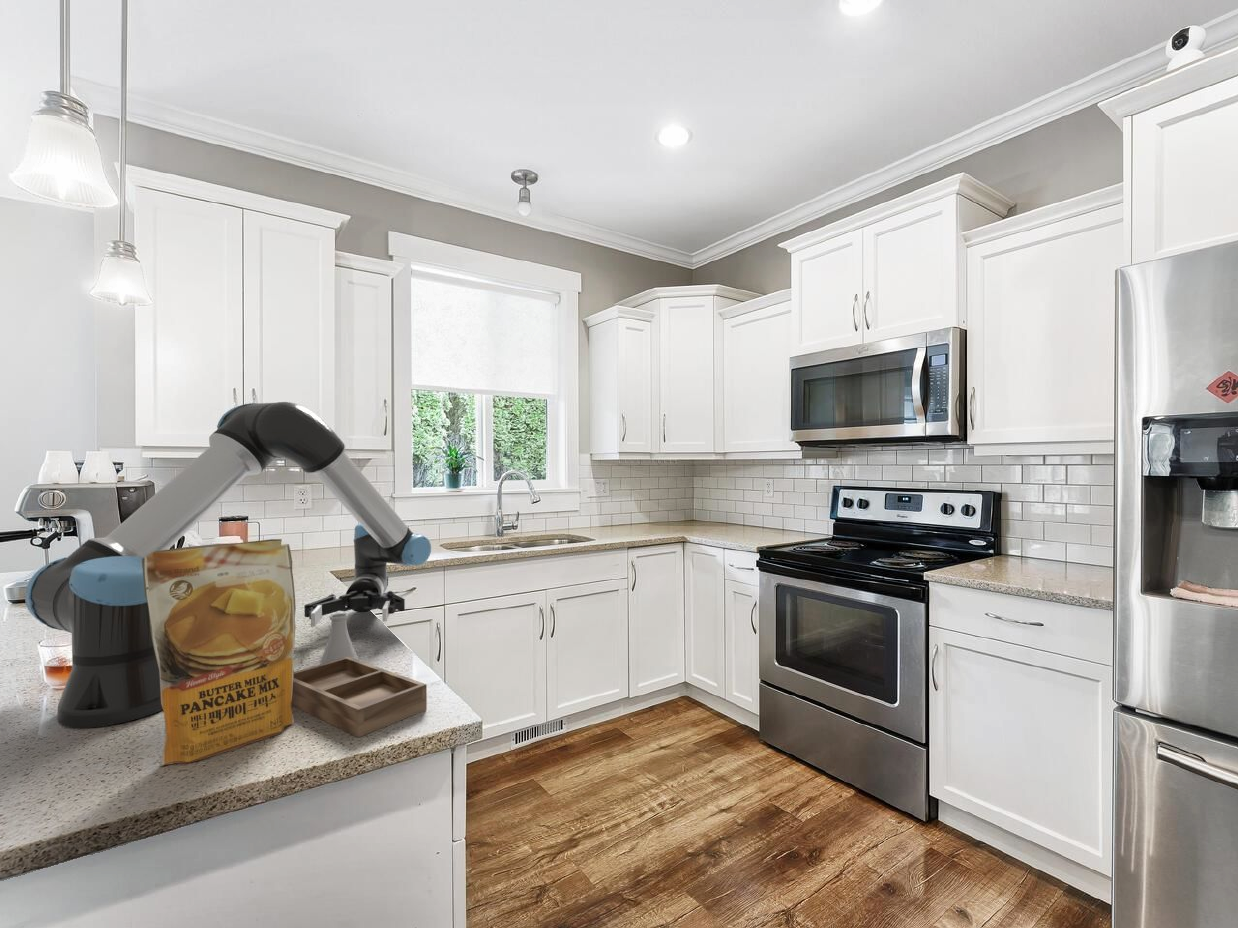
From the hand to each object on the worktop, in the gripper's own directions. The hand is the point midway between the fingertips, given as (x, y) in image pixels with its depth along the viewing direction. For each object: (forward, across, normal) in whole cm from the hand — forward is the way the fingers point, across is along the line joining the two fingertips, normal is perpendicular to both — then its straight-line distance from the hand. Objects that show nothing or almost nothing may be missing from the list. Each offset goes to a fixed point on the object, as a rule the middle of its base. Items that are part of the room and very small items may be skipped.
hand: (349, 617), depth 124 cm
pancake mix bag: (+38, +9, -7) cm, 40 cm away
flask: (+10, 0, -7) cm, 12 cm away
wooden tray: (+29, -5, -7) cm, 30 cm away
